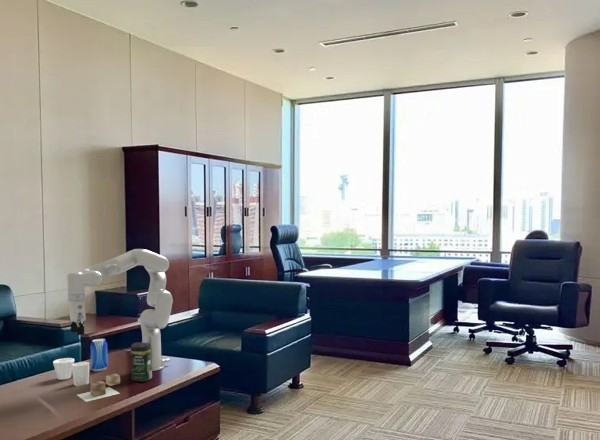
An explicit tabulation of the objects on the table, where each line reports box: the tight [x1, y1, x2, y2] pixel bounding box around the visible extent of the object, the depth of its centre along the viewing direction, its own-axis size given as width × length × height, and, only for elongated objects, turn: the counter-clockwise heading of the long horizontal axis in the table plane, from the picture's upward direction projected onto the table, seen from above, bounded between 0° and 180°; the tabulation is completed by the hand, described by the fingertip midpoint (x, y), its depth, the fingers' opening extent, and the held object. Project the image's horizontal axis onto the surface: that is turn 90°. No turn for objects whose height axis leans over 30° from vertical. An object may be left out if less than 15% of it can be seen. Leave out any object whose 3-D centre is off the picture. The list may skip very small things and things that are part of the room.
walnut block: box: [89, 380, 107, 397], centre depth 235 cm, size 5×5×5 cm
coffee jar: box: [130, 341, 153, 383], centre depth 259 cm, size 10×8×19 cm
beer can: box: [89, 338, 109, 372], centre depth 281 cm, size 8×8×16 cm
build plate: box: [76, 386, 121, 403], centre depth 235 cm, size 15×13×1 cm
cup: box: [52, 357, 75, 381], centre depth 267 cm, size 10×10×9 cm
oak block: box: [105, 373, 121, 387], centre depth 251 cm, size 5×5×5 cm
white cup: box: [72, 361, 90, 387], centre depth 256 cm, size 8×8×10 cm
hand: (77, 333), depth 251 cm, fingers open, 9 cm apart
